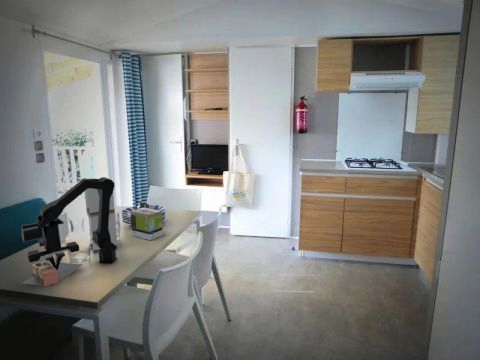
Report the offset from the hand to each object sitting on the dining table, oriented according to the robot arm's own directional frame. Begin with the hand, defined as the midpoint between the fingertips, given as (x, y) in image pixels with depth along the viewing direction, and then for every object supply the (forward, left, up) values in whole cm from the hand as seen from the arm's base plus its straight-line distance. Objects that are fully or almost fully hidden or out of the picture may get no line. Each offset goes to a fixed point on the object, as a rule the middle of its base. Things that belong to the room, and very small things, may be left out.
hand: (56, 270), depth 145 cm
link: (+4, +2, -2) cm, 5 cm away
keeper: (-2, +7, -3) cm, 7 cm away
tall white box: (-3, -31, -3) cm, 31 cm away
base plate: (+2, -1, -3) cm, 3 cm away
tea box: (-17, -52, -3) cm, 55 cm away
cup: (+26, -37, -3) cm, 45 cm away
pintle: (+7, -1, -3) cm, 8 cm away
